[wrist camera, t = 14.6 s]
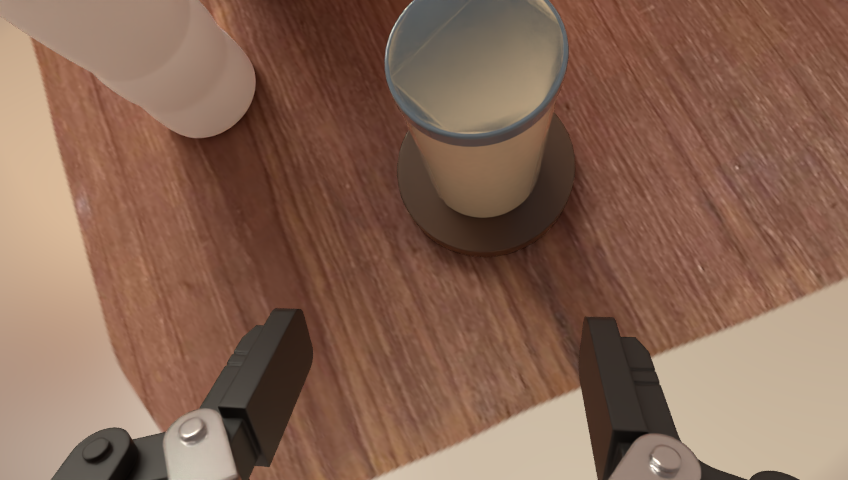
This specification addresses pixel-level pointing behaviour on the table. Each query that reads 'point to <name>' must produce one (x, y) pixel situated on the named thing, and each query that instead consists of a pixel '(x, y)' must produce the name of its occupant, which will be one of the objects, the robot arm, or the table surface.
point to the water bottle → (149, 56)
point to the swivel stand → (499, 230)
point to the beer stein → (478, 94)
